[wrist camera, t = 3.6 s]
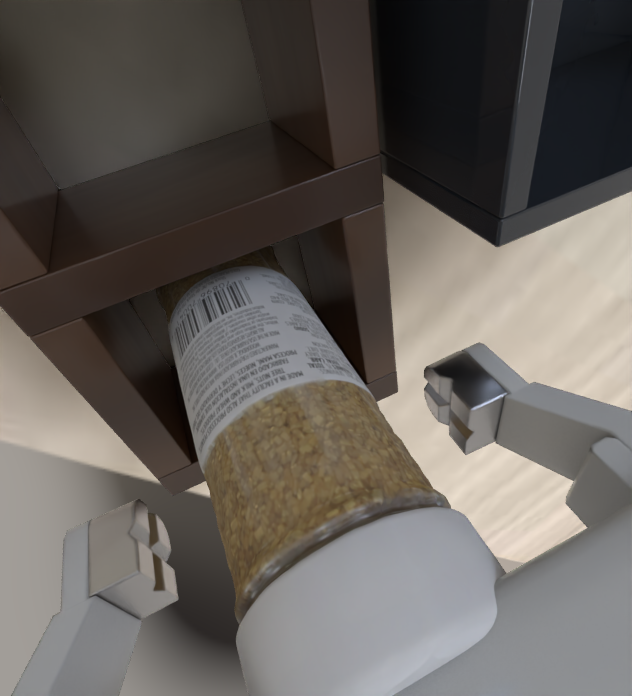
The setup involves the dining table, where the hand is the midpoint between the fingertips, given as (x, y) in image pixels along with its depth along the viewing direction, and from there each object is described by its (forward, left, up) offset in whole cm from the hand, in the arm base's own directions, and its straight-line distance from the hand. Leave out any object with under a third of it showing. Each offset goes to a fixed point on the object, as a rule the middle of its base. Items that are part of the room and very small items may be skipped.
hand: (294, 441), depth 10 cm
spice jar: (0, 0, -8) cm, 8 cm away
